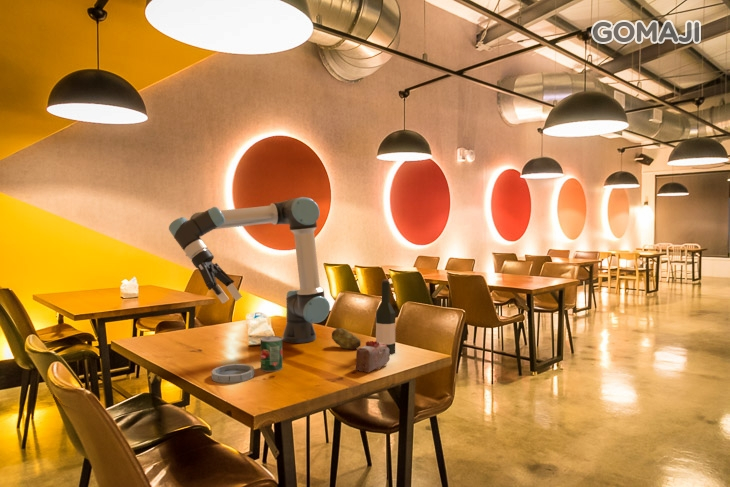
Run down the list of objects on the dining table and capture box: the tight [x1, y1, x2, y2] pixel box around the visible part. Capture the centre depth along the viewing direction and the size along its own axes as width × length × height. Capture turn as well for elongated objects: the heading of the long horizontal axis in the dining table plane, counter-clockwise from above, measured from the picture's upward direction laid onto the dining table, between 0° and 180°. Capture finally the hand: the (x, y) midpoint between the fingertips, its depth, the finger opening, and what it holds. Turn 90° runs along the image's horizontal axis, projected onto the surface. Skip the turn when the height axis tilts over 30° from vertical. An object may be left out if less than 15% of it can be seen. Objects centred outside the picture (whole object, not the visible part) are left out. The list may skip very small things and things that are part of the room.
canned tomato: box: [260, 335, 283, 373], centre depth 168 cm, size 8×8×11 cm
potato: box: [331, 327, 362, 350], centre depth 199 cm, size 8×13×8 cm, turn 44°
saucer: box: [211, 363, 256, 384], centre depth 159 cm, size 14×14×2 cm
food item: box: [355, 340, 391, 373], centre depth 170 cm, size 14×8×10 cm, turn 147°
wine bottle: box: [375, 279, 396, 355], centre depth 191 cm, size 8×8×30 cm
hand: (232, 300), depth 171 cm, fingers open, 13 cm apart
